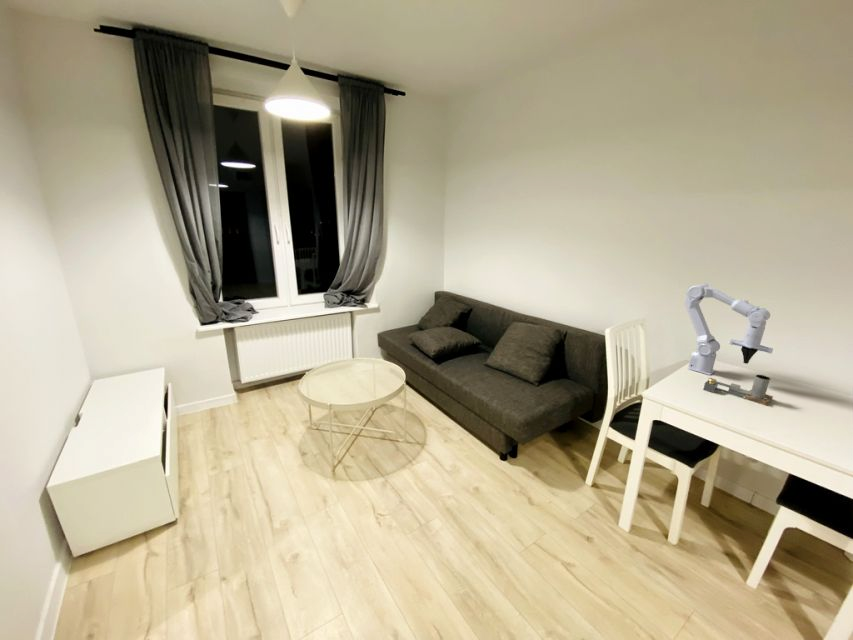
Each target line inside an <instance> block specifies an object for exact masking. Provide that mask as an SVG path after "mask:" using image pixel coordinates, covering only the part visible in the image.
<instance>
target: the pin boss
mask: <svg viewBox="0 0 853 640" xmlns="http://www.w3.org/2000/svg"><path fill="white" fill-rule="evenodd" d="M718 387H719V384H718V383H715V384H714V385H712V384H709V380H707V381H706V382H704V386H703V391H706V392H709V393H712V394H714V393H716V391H718V390H717V388H718Z"/></svg>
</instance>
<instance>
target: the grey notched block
mask: <svg viewBox="0 0 853 640" xmlns="http://www.w3.org/2000/svg"><path fill="white" fill-rule="evenodd" d="M729 385H730V387H728V390H727V391H730V392H733V393H736V394H739V395H742V396H744V398H745V395H748V396H750V393H751V391H750V390H747V389H744V388H741V385H740V384H737V383H733V382H732V383H731V384H729ZM740 388H741V389H740Z"/></svg>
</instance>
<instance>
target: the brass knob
mask: <svg viewBox="0 0 853 640" xmlns="http://www.w3.org/2000/svg"><path fill="white" fill-rule="evenodd" d="M707 381H709V384H712V385H714V384H715V382H716V381H717V379H715V378H713V377H709V378H708V380H707ZM717 382H718V381H717Z"/></svg>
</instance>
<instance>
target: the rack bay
mask: <svg viewBox="0 0 853 640" xmlns="http://www.w3.org/2000/svg"><path fill="white" fill-rule="evenodd" d="M751 390H752V389H750V390H749V391H751ZM773 398H774V396H773V395H770V394H767V393H766V394H765V397H764V400H760V399H757V398H754V397H751V396H748V395H745V397H744V398H743V399H744V400H747V401H751V402H753V403H757V404H759V405H762V406H765V407H766V406H768V405H769V404H770V402H771V401H773ZM765 399H766V400H765Z"/></svg>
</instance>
